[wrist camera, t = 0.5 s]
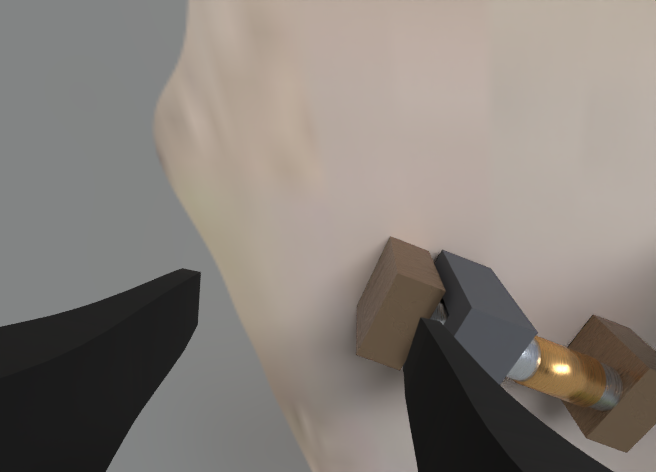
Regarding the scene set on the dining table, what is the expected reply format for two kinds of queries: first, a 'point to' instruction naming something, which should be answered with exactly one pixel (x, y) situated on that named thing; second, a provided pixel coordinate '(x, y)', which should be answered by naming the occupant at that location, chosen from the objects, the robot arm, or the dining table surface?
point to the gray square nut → (483, 315)
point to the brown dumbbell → (536, 361)
